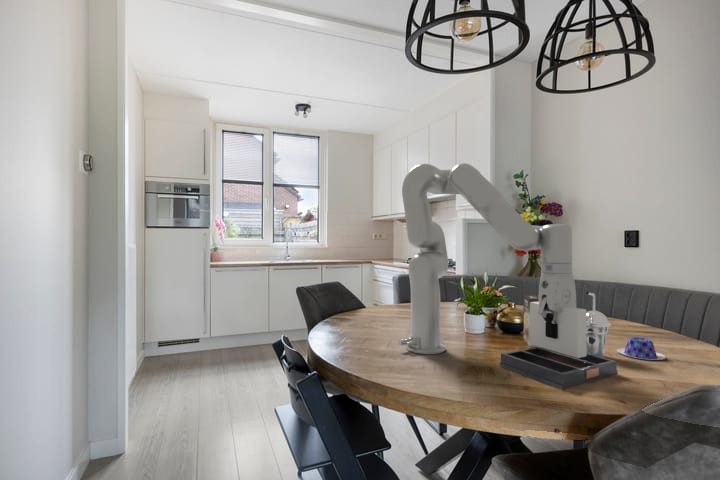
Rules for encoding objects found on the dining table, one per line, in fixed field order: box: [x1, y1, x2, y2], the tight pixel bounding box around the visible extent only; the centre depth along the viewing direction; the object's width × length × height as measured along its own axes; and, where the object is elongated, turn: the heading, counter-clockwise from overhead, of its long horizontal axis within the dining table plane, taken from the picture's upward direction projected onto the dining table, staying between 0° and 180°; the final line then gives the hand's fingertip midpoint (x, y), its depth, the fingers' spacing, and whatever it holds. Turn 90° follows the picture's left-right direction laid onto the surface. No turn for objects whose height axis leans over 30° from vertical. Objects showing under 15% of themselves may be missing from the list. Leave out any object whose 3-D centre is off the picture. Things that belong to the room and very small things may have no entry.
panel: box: [530, 302, 587, 358], centre depth 99 cm, size 4×14×12 cm, turn 27°
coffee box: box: [523, 295, 539, 348], centre depth 124 cm, size 9×6×16 cm
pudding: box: [616, 336, 667, 361], centre depth 112 cm, size 12×12×5 cm
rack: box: [499, 347, 619, 391], centre depth 98 cm, size 23×19×4 cm
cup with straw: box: [586, 291, 612, 358], centre depth 111 cm, size 8×9×20 cm
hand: (556, 335), depth 99 cm, fingers closed on panel, 3 cm apart
